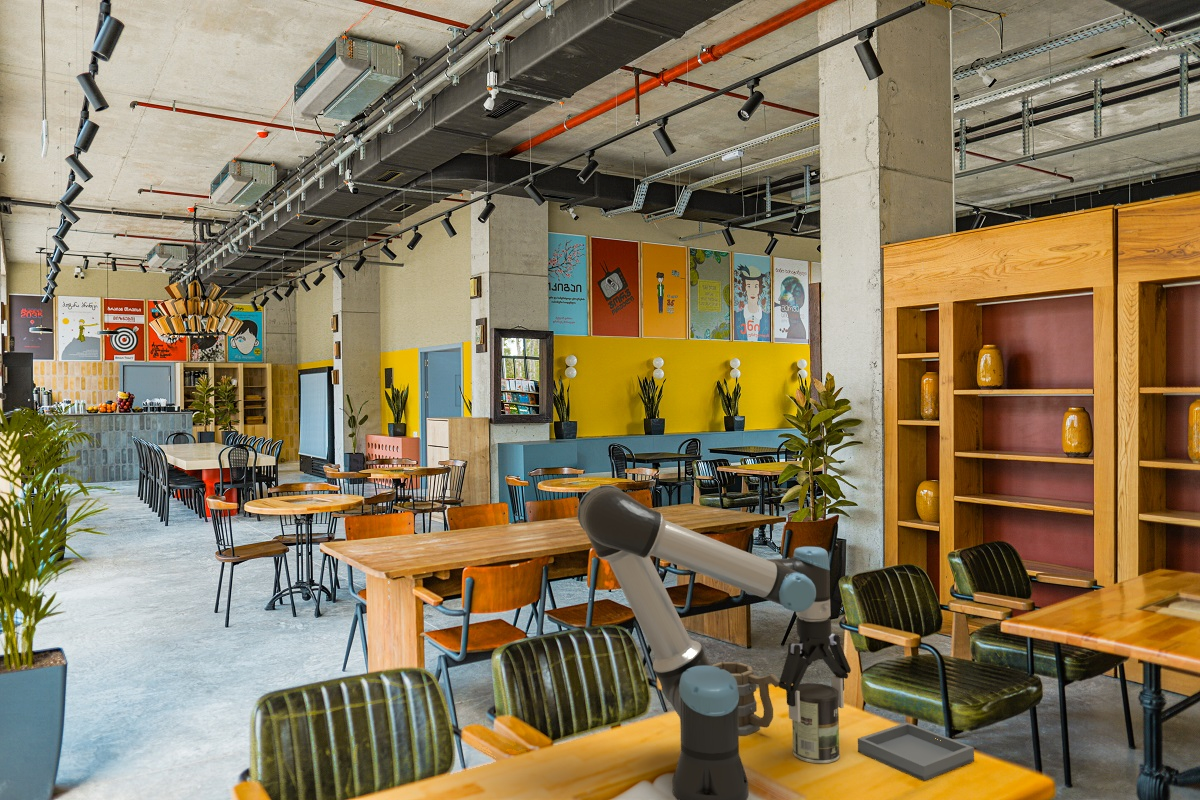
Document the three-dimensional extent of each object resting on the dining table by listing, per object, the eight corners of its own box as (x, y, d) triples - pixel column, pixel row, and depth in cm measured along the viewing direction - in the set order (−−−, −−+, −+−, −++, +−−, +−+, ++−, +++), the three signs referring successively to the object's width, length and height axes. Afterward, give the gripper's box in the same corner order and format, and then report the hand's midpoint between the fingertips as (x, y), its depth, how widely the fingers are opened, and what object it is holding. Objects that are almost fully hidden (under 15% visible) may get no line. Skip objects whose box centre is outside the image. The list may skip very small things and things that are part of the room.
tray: (924, 781, 164) (923, 766, 164) (857, 751, 179) (857, 738, 179) (974, 761, 173) (973, 747, 173) (907, 735, 188) (907, 722, 188)
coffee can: (837, 746, 182) (836, 683, 182) (842, 765, 172) (840, 699, 172) (791, 742, 184) (790, 681, 184) (792, 762, 174) (791, 697, 174)
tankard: (695, 725, 195) (694, 663, 196) (728, 711, 204) (727, 652, 204) (762, 750, 180) (761, 683, 181) (794, 734, 189) (793, 670, 189)
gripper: (784, 630, 169) (788, 731, 169) (864, 611, 182) (868, 705, 182) (760, 623, 175) (763, 720, 175) (839, 605, 188) (842, 696, 188)
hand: (816, 713), depth 178 cm, fingers open, 13 cm apart
